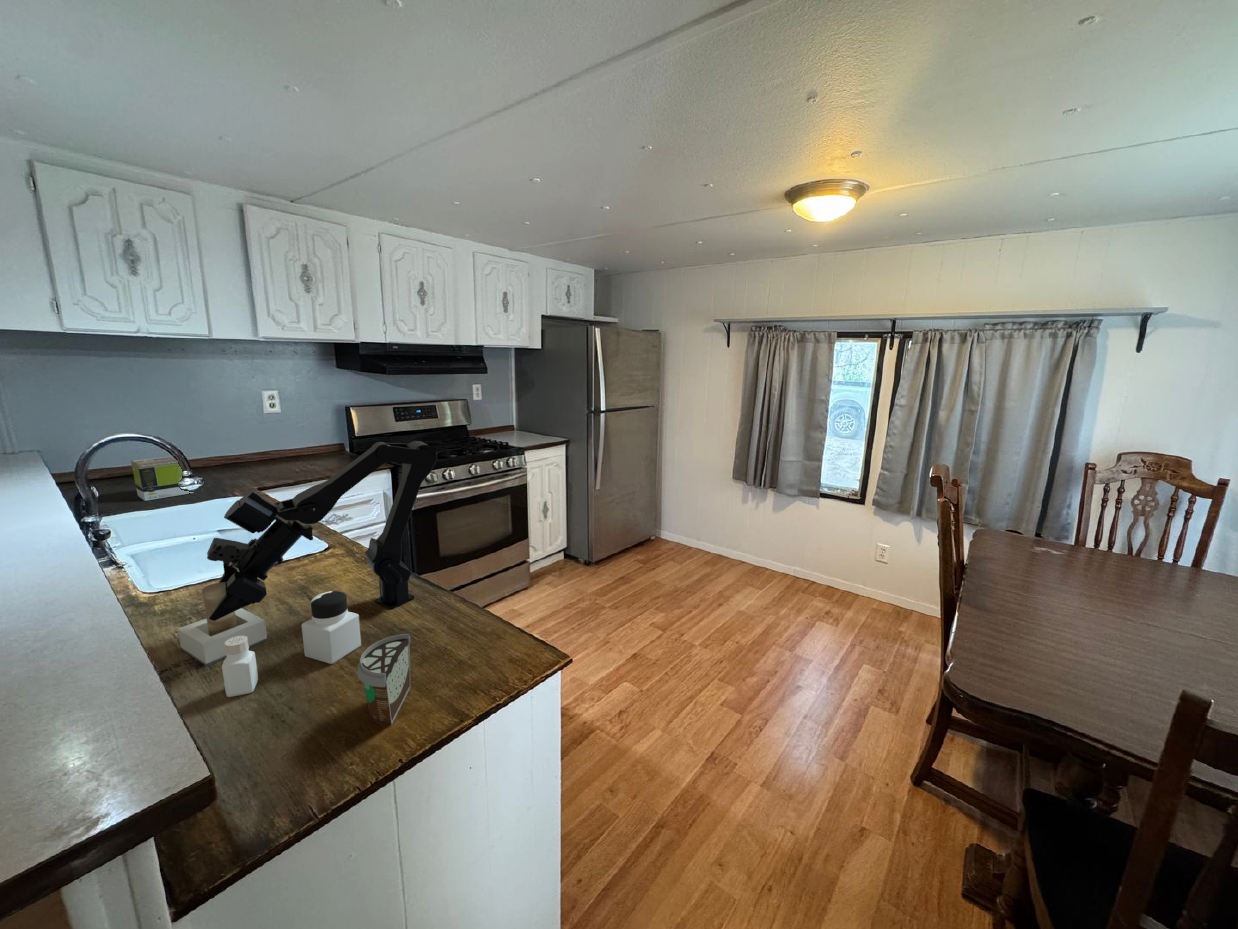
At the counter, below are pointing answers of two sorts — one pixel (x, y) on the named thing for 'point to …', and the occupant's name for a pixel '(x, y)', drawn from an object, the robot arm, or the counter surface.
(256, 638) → the socket block
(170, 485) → the tea box
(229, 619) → the oak plug peg
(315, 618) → the medicine bottle
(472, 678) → the counter surface
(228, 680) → the pepper shaker
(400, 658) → the food container
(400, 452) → the robot arm
